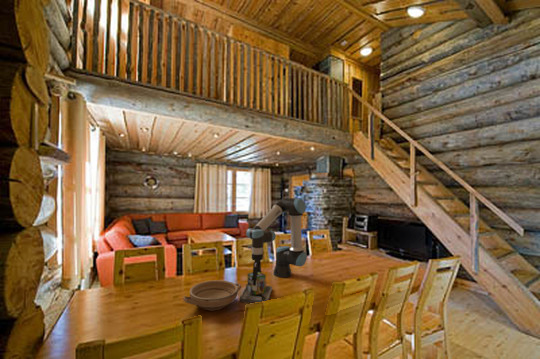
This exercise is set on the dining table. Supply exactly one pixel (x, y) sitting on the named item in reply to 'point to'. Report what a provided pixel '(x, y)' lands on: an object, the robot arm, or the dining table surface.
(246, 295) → the motor base
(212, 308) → the ceramic bowl
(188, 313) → the dining table surface
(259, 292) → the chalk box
